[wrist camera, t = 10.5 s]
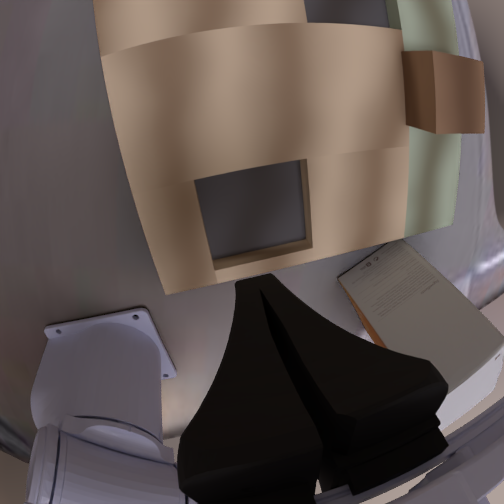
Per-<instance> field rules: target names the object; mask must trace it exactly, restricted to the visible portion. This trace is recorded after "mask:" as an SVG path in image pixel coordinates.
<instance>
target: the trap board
mask: <svg viewBox="0 0 504 504" xmlns="http://www.w3.org/2000/svg"><path fill="white" fill-rule="evenodd" d="M93 5H94V13H95V21H96V29H97V36H98V43H99V49H100V55H101V61H102V67H103V73H104V78H105V83H106V88H107V93H108V98H109V103H110V108H111V112H112V117H113V121H114V126H115V130H116V134H117V138H118V143H119V147H120V151H121V154H122V158H123V162H124V166H125V170H126V173H127V177H128V181H129V184H130V188H131V191H132V195H133V198H134V201H135V205H136V208H137V211H138V215H139V218H140V221H141V224H142V228H143V231H144V234H145V237H146V240H147V243H148V246H149V249H150V252H151V255H152V258H153V261H154V264H155V266H156V269H157V272H158V275H159V278H160V281H161V283H162V286H163V289H164V291H165V294H166V295H169V294H173V293H178V292H182V291H187V290H191V289H196V288H200V287H205V286H209V285H214V284H218V283H222V282H227V281H231V280H235V279H240V278H244V277H248V276H253V275H257V274H261V273H265V272H269V271H274V270H278V269H282V268H286V267H290V266H294V265H299V264H303V263H307V262H311V261H315V260H319V259H323V258H327V257H331V256H335V255H339V254H343V253H347V252H351V251H355V250H359V249H363V248H367V247H371V246H374V245H378V244H382V243H386V242H390V241H394V240H397V239H401V238H405V237H409V236H413V235H416V234H420V233H424V232H428V231H431V230H435V229H439V228H442V227H446V226H450V225H453V219H454V212H455V205H456V197H457V188H458V179H459V167H460V153H461V134H434V133H431V132H427V131H424V130H421V129H418V128H414V127H411V126H407V125H406V114H405V92H404V78H403V66H402V56H401V51H437V52H443V53H448V54H452V55H457V56H459V51H458V42H457V34H456V27H455V20H454V14H453V8H452V3H451V0H93Z"/></svg>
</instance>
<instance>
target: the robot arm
mask: <svg viewBox="0 0 504 504" xmlns="http://www.w3.org/2000/svg"><path fill="white" fill-rule="evenodd" d="M235 290H236V300H235V310H234V316H233V322H232V327H231V331H230V335H229V340H228V343H227V347H226V350H225V353H224V356H223V359H222V362H221V364H220V367H219V369H218V371H217V374H216V376H215V379H214V381H213V383H212V385H211V387H210V389H209V391H208V393H207V395H206V397H205V398H204V400H203V402H202V404H201V406H200V408H199V409H198V411H197V413H196V414H195V416H194V417H193V419H192V420H191V422H190V423H189V425H188V426H187V428H186V429H185V431H184V432H183V433H182V435H181V438H180V443H179V449H178V456H177V463H176V462H174V453H173V448H170V447H167V446H164V445H163V433H162V404H161V380H163V379H168V378H174V377H176V375H177V371H176V369H175V367H174V365H173V363H172V361H171V359H170V357H169V355H168V353H167V351H166V349H165V346H164V344H163V342H162V340H161V338H160V336H159V334H158V332H157V329H156V327H155V325H154V323H153V321H152V318H151V316H150V314H149V312H148V310H147V309H145V308H137V309H132V310H127V311H122V312H117V313H113V314H108V315H102V316H97V317H92V318H87V319H82V320H77V321H72V322H66V323H61V324H55V325H50V326H46V327H45V330H44V333H45V334H46V336H47V337H48V342H47V345H46V348H45V350H44V353H43V356H42V359H41V362H40V365H39V368H38V371H37V374H36V378H35V381H34V384H33V387H32V392H31V411H32V416H33V420H34V423H35V425H36V427H37V429H38V431H37V434H36V437H35V441H34V444H33V449H32V453H31V458H30V463H29V470H28V477H27V485H26V502H25V503H24V504H359V503H361V502H364V501H366V500H369V499H371V498H374V497H376V496H378V495H380V494H383V493H385V492H387V491H389V490H391V489H394V488H396V487H398V486H400V485H402V484H404V483H406V482H408V481H410V480H412V479H414V478H416V477H417V476H419V475H421V474H423V473H425V472H427V471H428V470H430V469H432V468H433V467H435V466H437V465H439V464H440V463H442V462H443V463H442V464H440V465H439V466H437V467H436V468H435V469H433V470H432V471H430V472H429V473H427V474H426V476H425V478H424V479H423V480H421V481H420V482H419V483H418V484H417V485H416V486H414V487H413V488H411V489H410V490H409V492H408V493H407V494H405V495H403V496H401V497H399V498H397V499H395V500H393V501H391V502H388V503H386V504H490V503H489V501H488V499H487V497H486V495H487V494H489V493H490V492H491V491H492V490H493V489H494V488H496V487H497V486H498V485H499V484H500V483H501V482H502V481H504V397H503V398H502V399H500V400H499V401H497V402H496V403H495V404H494V405H492V406H491V407H489V408H488V409H487V410H485V411H484V412H483V413H481V414H480V415H478V416H477V417H475V418H474V419H473V420H471V421H470V422H468V423H467V424H465V425H464V426H462V427H460V428H459V429H457V430H456V431H454V432H453V433H451V434H449V435H448V436H446V437H444V436H443V434H442V433H441V431H440V429H439V428H438V426H440V424H441V423H440V420H439V418H438V417H437V415H436V413H437V411H438V409H439V408H440V406H441V405H442V403H443V401H444V400H445V398H446V395H447V393H448V388H449V385H448V383H447V382H446V381H445V379H444V378H443V376H442V375H441V373H440V372H439V371H438V370H437V368H436V367H435V366H434V365H433V364H432V363H431V362H430V361H429V360H426V359H422V358H418V357H414V356H410V355H406V354H402V353H399V352H395V351H393V350H390V349H387V348H384V347H381V346H378V345H376V344H373V343H371V342H369V341H367V340H364V339H362V338H360V337H357V336H355V335H353V334H351V333H349V332H347V331H346V330H344V329H342V328H340V327H339V326H337V325H335V324H334V323H332V322H330V321H329V320H327V319H326V318H324V317H323V316H321V315H320V314H318V313H317V312H316V311H314V310H313V309H312V308H310V307H309V306H308V305H306V304H305V303H304V302H303V301H301V300H300V299H299V298H298V297H296V296H295V295H294V294H293V293H292V292H291V291H290V290H289V289H287V288H286V287H285V286H284V285H283V284H282V283H281V282H280V281H279V280H278V279H277V278H276V277H275V276H274V275H273V274H271V273H269V274H265V275H261V276H257V277H252V278H248V279H244V280H240V281H237V282H236V283H235ZM134 315H138V317H136V316H134ZM58 329H59V330H60V331H59V330H58ZM445 460H446V461H445ZM444 461H445V462H444ZM317 479H318V480H319V483H320V486H321V490H322V493H320V494H316V495H315V488H316V481H317Z"/></svg>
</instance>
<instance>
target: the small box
mask: <svg viewBox="0 0 504 504" xmlns="http://www.w3.org/2000/svg"><path fill="white" fill-rule="evenodd" d="M338 281H339V282H340V284H341V286H342V287H343V289H344V290H345V292H346V293H347V295H348V297H349V299H350V301H351V302H352V304H353V306H354V308H355V310H356V312H357V313H358V315H359V317H360V319H361V321H362V323H363V325H364V327H365V329H366V331H367V333H368V334H369V336H370V337H371V339H372V340H373V341H374V343H375V344H376V345H378V346H381V347H384V348H387V349H390V350H393V351H395V352H399V353H402V354H406V355H410V356H414V357H418V358H422V359H426V360H429V361H430V362H431V363H432V364H433V365H434V366H435V367H436V368H437V370H438V371H439V372H440V373H441V375H442V376H443V378H444V379H445V381H446V382H447V383H448V385H449V388H448V393H447V395H446V398H445V400H444V401H443V403H442V405H441V406H440V408H439V409H438V411H437V413H436V415H437V417H438V418H439V420H440V423H441V424H440V426H438V428H439V429H440V431H442V430H443V429H444V428H446V427H447V426H449V425H450V424H451V423H453V422H454V421H456V420H457V419H458V418H460V417H461V416H462V415H464V414H465V413H466V412H468V411H469V410H470V409H471V408H473V407H474V406H475V405H476V404H478V403H479V402H480V401H481V400H482V399H484V398H485V397H486V396H487V395H488V394H489V393H490V392H492V391H493V390H494V388H495V385H496V382H497V379H498V376H499V374H500V371H501V369H502V365H503V358H504V336H503V335H502V334H501V333H500V332H499V331H498V330H497V328H495V327H494V325H493V324H492V323H491V322H490V321H489V320H488V319H487V318H486V317H485V316H484V315H483V314H482V313H481V312H480V311H479V310H478V309H477V308H476V307H475V306H474V305H473V304H472V303H471V302H470V301H469V300H468V299H467V298H466V297H465V296H464V295H463V294H462V293H461V292H460V291H459V290H458V289H457V288H456V287H455V286H454V285H453V284H452V283H451V282H450V281H448V280H447V279H446V278H445V277H444V276H443V275H442V274H441V273H440V272H439V271H438V270H436V269H435V268H434V267H433V266H432V265H431V264H430V263H429V262H428V261H426V260H425V259H424V258H423V257H422V256H421V255H420V254H419V253H418V252H417V251H416V250H414V249H413V248H412V247H411V246H410V245H409V244H407V243H406V242H405V241H404V240H403V239H402V238H401V239H397V240H394V241H390V242H389V243H387V244H386V245H385V246H383V247H382V248H380V249H379V250H378V251H376V252H375V253H373V254H372V255H371V256H369V257H368V258H366V259H365V260H363V261H362V262H361V263H359V264H358V265H356V266H355V267H353V268H352V269H351V270H349V271H348V272H346V273H345V274H343V275H342V276H340V277H339V278H338Z"/></svg>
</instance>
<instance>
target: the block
mask: <svg viewBox="0 0 504 504" xmlns="http://www.w3.org/2000/svg"><path fill="white" fill-rule="evenodd" d="M401 56H402V66H403V78H404V92H405V114H406V125H407V126H411V127H414V128H418V129H421V130H424V131H427V132H431V133H434V134H465V133H484V129H485V87H484V69H483V62H482V61H478V60H474V59H470V58H466V57H462V56H457V55H452V54H448V53H443V52H437V51H401Z"/></svg>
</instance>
